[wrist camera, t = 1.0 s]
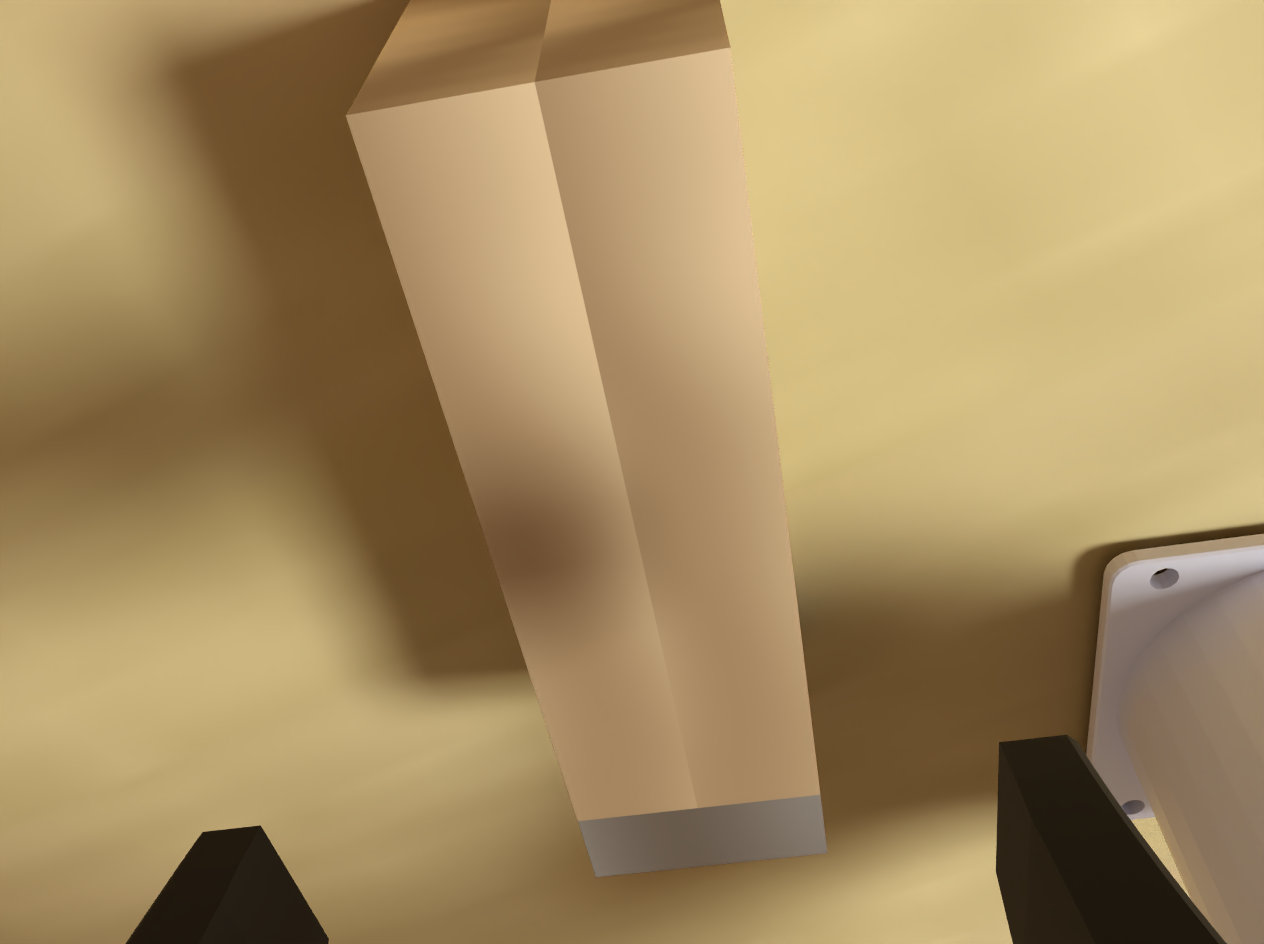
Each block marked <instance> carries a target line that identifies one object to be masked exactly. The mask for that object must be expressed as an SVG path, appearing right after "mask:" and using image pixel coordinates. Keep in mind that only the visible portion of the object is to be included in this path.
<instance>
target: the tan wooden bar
mask: <svg viewBox="0 0 1264 944" xmlns="http://www.w3.org/2000/svg"><path fill="white" fill-rule="evenodd" d="M346 118H347V121H348V124H349V127H350V130H351V133H352V136H353V139H354V142H355V146H356V149H357V152H358V155H359V158H360V161H361V164H362V167H363V170H364V173H365V176H366V179H367V182H368V185H369V188H370V191H371V194H372V197H373V200H374V203H375V206H376V209H377V212H378V215H379V219H380V222H381V225H382V228H383V231H384V234H385V237H386V240H387V243H388V246H389V249H390V252H391V255H392V258H393V261H394V264H395V267H396V270H397V273H398V276H399V279H400V282H401V285H402V288H403V292H404V295H405V298H406V301H407V304H408V307H409V310H410V313H411V316H412V319H413V322H414V325H415V328H416V331H417V334H418V337H419V340H420V343H421V346H422V349H423V352H424V355H425V358H426V361H427V365H428V368H429V371H430V374H431V377H432V380H433V383H434V386H435V389H436V392H437V395H438V398H439V401H440V404H441V407H442V410H443V413H444V416H445V419H446V422H447V425H448V428H449V431H450V435H451V438H452V441H453V444H454V447H455V450H456V453H457V456H458V459H459V462H460V465H461V468H462V471H463V474H464V477H465V480H466V483H467V486H468V489H469V492H470V495H471V498H472V501H473V504H474V508H475V511H476V514H477V517H478V520H479V523H480V526H481V529H482V532H483V535H484V538H485V541H486V544H487V547H488V550H489V553H490V556H491V559H492V562H493V565H494V568H495V571H496V574H497V577H498V581H499V584H500V587H501V590H502V593H503V596H504V599H505V602H506V605H507V608H508V611H509V614H510V617H511V620H512V623H513V626H514V629H515V632H516V635H517V638H518V641H519V644H520V647H521V650H522V654H523V657H524V660H525V663H526V666H527V669H528V672H529V675H530V678H531V681H532V684H533V687H534V690H535V693H536V696H537V699H538V702H539V705H540V708H541V711H542V714H543V717H544V720H545V723H546V727H547V730H548V733H549V736H550V739H551V742H552V745H553V748H554V751H555V754H556V757H557V760H558V763H559V766H560V769H561V772H562V775H563V778H564V781H565V784H566V787H567V790H568V793H569V796H570V800H571V803H572V806H573V809H574V812H575V815H576V818H577V821H578V824H579V827H580V830H581V833H582V836H583V839H584V842H585V845H586V848H587V851H588V854H589V857H590V860H591V863H592V866H593V869H594V873H595V876H596V877H604V876H614V875H623V874H633V873H643V872H652V871H662V870H671V869H681V868H691V867H700V866H710V865H720V864H729V863H739V862H748V861H758V860H768V859H777V858H787V857H797V856H806V855H816V854H826V853H827V845H826V837H825V828H824V820H823V812H822V803H821V795H820V787H819V778H818V770H817V762H816V754H815V745H814V737H813V729H812V720H811V712H810V704H809V696H808V687H807V679H806V671H805V662H804V654H803V646H802V637H801V629H800V621H799V613H798V604H797V596H796V588H795V579H794V571H793V563H792V555H791V546H790V538H789V530H788V521H787V513H786V505H785V497H784V488H783V480H782V472H781V463H780V455H779V447H778V438H777V430H776V422H775V414H774V405H773V397H772V389H771V380H770V372H769V364H768V356H767V347H766V339H765V331H764V322H763V314H762V306H761V298H760V289H759V281H758V273H757V264H756V256H755V248H754V239H753V231H752V223H751V215H750V206H749V198H748V190H747V181H746V173H745V165H744V157H743V148H742V140H741V132H740V123H739V115H738V107H737V98H736V90H735V82H734V74H733V65H732V57H731V49H730V44H729V39H728V35H727V30H726V26H725V22H724V17H723V13H722V8H721V4H720V0H410V1H409V3H408V5H407V7H406V8H405V10H404V12H403V14H402V16H401V17H400V19H399V21H398V23H397V24H396V26H395V28H394V30H393V32H392V33H391V35H390V37H389V39H388V41H387V42H386V44H385V46H384V48H383V50H382V51H381V53H380V55H379V57H378V58H377V60H376V62H375V64H374V66H373V67H372V69H371V71H370V73H369V75H368V76H367V78H366V80H365V82H364V84H363V85H362V87H361V89H360V91H359V92H358V94H357V96H356V98H355V100H354V101H353V103H352V105H351V107H350V109H349V110H348V112H347V114H346Z"/></svg>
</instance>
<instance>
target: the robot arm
mask: <svg viewBox="0 0 1264 944" xmlns="http://www.w3.org/2000/svg"><path fill="white" fill-rule="evenodd" d="M1165 568H1168V569H1167V570H1166V571H1164V572H1163V573H1160V574H1157V575H1153V574H1155V573H1156V572H1157V571H1159V570H1162V569H1165ZM1151 817H1155V818H1156V820H1157V822H1158V825H1159V827H1160V829H1161V831H1162V834H1163V836H1164V838H1165V841H1166V843H1167V845H1168V848H1169V850H1170V852H1171V855H1172V857H1173V859H1174V861H1175V864H1176V866H1177V868H1178V871H1179V873H1180V875H1181V878H1182V880H1183V882H1184V885H1185V887H1186V889H1187V891H1188V894H1189V896H1190V898H1191V899H1190V898H1189V897H1188V895H1187V894H1186V893H1185V892H1184V890H1183V889H1182V888H1181V887H1180V885H1179V884H1178V883H1177V881H1176V880H1175V879H1174V878H1173V876H1172V875H1171V874H1170V872H1169V871H1168V870H1167V868H1166V867H1165V866H1164V864H1163V863H1162V862H1161V860H1160V859H1159V858H1158V856H1157V855H1156V854H1155V852H1154V851H1153V850H1152V848H1151V847H1150V846H1149V844H1148V843H1147V842H1146V840H1145V839H1144V838H1143V836H1142V835H1141V834H1140V832H1139V831H1138V830H1137V828H1136V827H1135V826H1134V824H1133V823H1132V821H1131V820H1132V819H1142V818H1151ZM996 874H997V878H998V882H999V886H1000V891H1001V895H1002V899H1003V903H1004V908H1005V912H1006V916H1007V920H1008V924H1009V929H1010V933H1011V937H1012V941H1013V944H1264V534H1257V535H1249V536H1241V537H1233V538H1226V539H1218V540H1210V541H1202V542H1194V543H1186V544H1178V545H1171V546H1163V547H1155V548H1147V549H1139V550H1132V551H1128V552H1124V553H1122V554H1120V555H1118V556H1116V557H1115V558H1113V559H1112V560H1111V561H1110V562H1109V563H1108V565H1107V566H1106V569H1105V571H1104V576H1103V587H1102V597H1101V607H1100V618H1099V628H1098V638H1097V649H1096V659H1095V670H1094V680H1093V690H1092V701H1091V711H1090V721H1089V732H1088V742H1087V753H1086V754H1085V753H1084V751H1083V749H1082V748H1081V746H1080V745H1079V743H1078V742H1077V741H1075V740H1074V739H1072V738H1071V737H1069V736H1068V735H1061V736H1052V737H1044V738H1035V739H1026V740H1017V741H1008V742H999V772H998V811H997V850H996ZM328 942H329V938H328V937H327V935H326V933H325V932H324V930H323V928H322V927H321V925H320V923H319V922H318V920H317V918H316V917H315V915H314V913H313V912H312V910H311V908H310V907H309V905H308V903H307V902H306V900H305V898H304V897H303V895H302V893H301V892H300V890H299V888H298V887H297V885H296V883H295V882H294V880H293V879H292V877H291V875H290V874H289V872H288V870H287V869H286V867H285V865H284V864H283V862H282V860H281V859H280V857H279V855H278V854H277V852H276V850H275V849H274V847H273V845H272V844H271V842H270V840H269V839H268V837H267V835H266V834H265V832H264V830H263V829H262V827H261V826H253V827H244V828H235V829H226V830H217V831H208V832H203V833H202V834H201V835H200V837H199V838H198V839H197V841H196V842H195V843H194V845H193V846H192V848H191V849H190V851H189V852H188V853H187V855H186V856H185V858H184V859H183V861H182V862H181V863H180V865H179V866H178V868H177V869H176V871H175V872H174V874H173V875H172V876H171V878H170V879H169V881H168V882H167V884H166V885H165V887H164V888H163V890H162V891H161V893H160V894H159V895H158V897H157V898H156V900H155V901H154V903H153V904H152V906H151V907H150V909H149V910H148V912H147V913H146V915H145V916H144V918H143V919H142V920H141V922H140V923H139V925H138V926H137V928H136V929H135V931H134V932H133V934H132V935H131V937H130V938H129V939H128V941H127V942H126V944H328Z"/></svg>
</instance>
